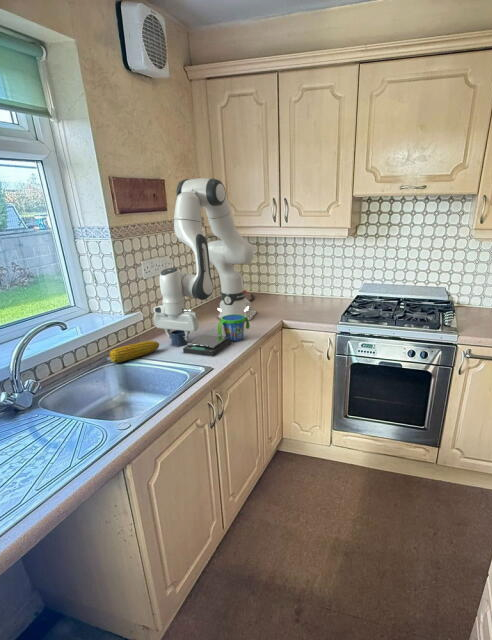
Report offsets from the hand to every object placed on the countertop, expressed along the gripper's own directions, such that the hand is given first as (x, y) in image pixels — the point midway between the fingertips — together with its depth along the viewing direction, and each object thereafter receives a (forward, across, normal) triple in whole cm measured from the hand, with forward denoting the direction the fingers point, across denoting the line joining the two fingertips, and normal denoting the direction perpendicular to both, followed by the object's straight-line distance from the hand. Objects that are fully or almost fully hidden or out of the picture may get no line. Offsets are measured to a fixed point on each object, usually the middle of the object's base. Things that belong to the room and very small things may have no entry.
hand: (178, 339), depth 179 cm
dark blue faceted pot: (+2, 0, 0) cm, 2 cm away
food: (+2, +8, +19) cm, 21 cm away
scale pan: (0, -15, 0) cm, 15 cm away
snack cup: (+2, -21, -13) cm, 25 cm away
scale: (+2, -15, +1) cm, 15 cm away
